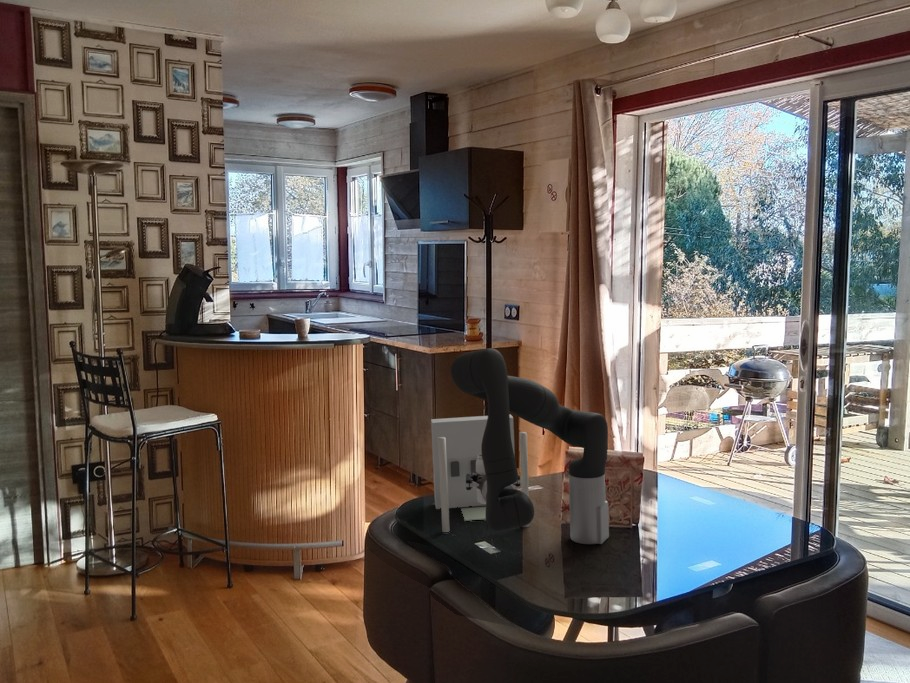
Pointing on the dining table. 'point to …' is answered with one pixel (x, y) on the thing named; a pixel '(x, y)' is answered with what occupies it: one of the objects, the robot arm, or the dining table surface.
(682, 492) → the dining table surface
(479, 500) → the can
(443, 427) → the breaker panel
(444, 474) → the cord posts
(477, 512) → the pad
